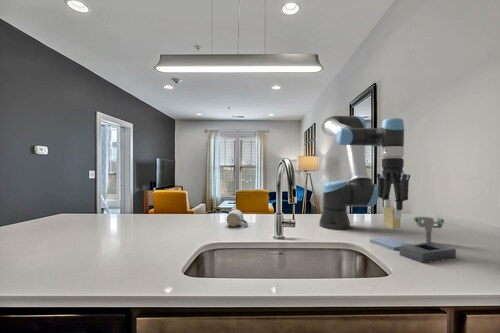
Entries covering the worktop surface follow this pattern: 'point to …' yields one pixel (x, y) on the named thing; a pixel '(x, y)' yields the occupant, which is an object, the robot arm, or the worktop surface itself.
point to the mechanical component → (428, 225)
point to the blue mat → (389, 243)
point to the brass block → (390, 218)
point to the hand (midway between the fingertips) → (392, 217)
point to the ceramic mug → (236, 218)
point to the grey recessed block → (427, 252)
